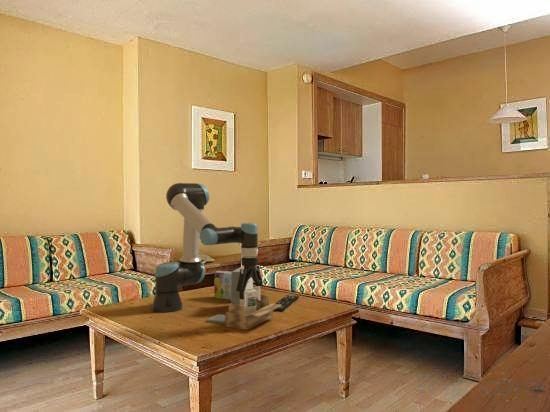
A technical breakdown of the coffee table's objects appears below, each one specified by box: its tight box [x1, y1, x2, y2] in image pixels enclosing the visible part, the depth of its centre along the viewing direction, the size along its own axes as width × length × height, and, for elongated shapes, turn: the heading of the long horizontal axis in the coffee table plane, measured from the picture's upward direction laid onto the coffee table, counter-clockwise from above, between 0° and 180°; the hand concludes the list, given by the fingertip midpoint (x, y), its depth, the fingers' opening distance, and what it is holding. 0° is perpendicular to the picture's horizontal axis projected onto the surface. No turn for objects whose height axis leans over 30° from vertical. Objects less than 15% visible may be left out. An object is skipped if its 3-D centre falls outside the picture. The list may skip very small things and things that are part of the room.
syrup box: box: [244, 288, 258, 315], centre depth 201 cm, size 6×6×14 cm
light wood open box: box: [224, 293, 282, 331], centre depth 200 cm, size 17×24×10 cm
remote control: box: [273, 294, 300, 313], centre depth 234 cm, size 8×32×2 cm, turn 162°
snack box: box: [213, 270, 232, 301], centre depth 247 cm, size 21×6×15 cm, turn 59°
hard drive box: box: [230, 266, 254, 305], centre depth 226 cm, size 16×8×20 cm, turn 168°
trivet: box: [205, 313, 225, 325], centre depth 203 cm, size 10×10×1 cm
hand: (250, 303), depth 201 cm, fingers open, 13 cm apart
